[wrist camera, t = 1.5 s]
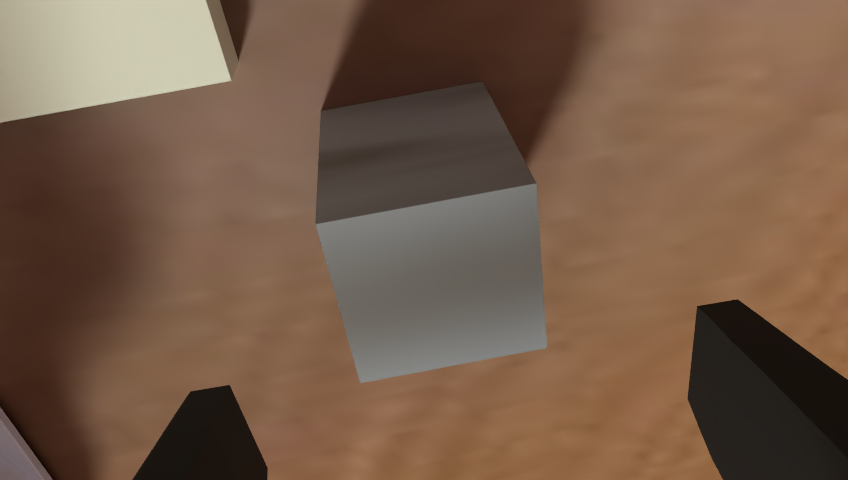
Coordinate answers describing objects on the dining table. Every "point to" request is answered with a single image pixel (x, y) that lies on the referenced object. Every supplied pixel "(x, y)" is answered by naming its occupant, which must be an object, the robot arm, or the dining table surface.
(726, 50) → the dining table surface
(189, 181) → the dining table surface
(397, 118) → the slate block
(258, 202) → the dining table surface
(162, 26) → the cream square slab
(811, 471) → the robot arm
